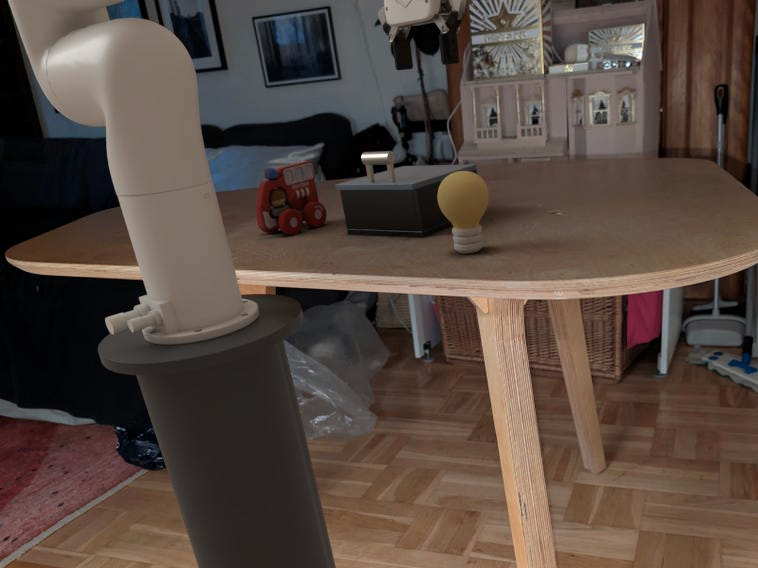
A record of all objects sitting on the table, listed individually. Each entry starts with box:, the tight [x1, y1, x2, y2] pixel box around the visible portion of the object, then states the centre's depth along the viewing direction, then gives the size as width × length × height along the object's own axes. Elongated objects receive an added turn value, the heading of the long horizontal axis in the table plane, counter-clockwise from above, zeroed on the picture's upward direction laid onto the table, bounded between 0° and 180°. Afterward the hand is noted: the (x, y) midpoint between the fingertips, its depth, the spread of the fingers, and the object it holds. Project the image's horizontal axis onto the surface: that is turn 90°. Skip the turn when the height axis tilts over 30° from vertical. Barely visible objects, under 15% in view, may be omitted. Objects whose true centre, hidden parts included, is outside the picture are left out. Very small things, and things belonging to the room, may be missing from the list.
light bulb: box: [437, 171, 490, 254], centre depth 88 cm, size 6×6×10 cm
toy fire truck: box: [255, 160, 328, 235], centre depth 114 cm, size 7×12×10 cm, turn 144°
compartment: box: [339, 169, 478, 238], centre depth 108 cm, size 16×15×7 cm
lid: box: [334, 150, 478, 191], centre depth 106 cm, size 16×15×5 cm
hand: (427, 66), depth 105 cm, fingers open, 9 cm apart
